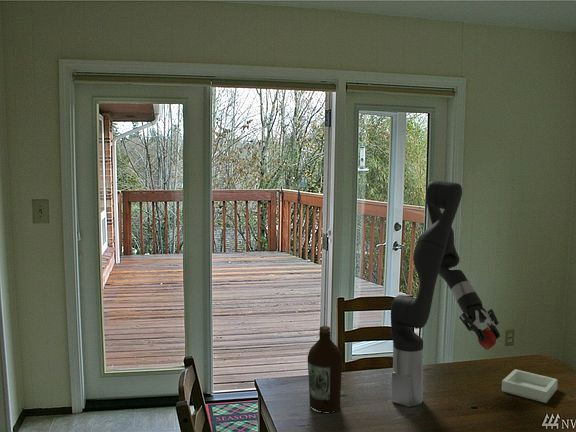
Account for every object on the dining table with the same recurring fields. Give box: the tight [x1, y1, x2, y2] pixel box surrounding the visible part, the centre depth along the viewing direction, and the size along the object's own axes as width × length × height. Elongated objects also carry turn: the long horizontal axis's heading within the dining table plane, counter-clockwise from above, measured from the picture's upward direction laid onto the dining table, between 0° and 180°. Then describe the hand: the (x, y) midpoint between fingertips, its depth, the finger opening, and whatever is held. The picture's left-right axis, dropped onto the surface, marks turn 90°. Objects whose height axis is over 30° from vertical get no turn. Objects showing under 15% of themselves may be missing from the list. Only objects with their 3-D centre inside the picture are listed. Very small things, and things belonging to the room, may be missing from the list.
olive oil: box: [307, 325, 343, 413], centre depth 151 cm, size 11×11×25 cm
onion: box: [477, 326, 497, 351], centre depth 168 cm, size 6×6×8 cm
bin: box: [501, 368, 558, 404], centre depth 163 cm, size 13×13×4 cm
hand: (490, 338), depth 166 cm, fingers closed on onion, 5 cm apart
